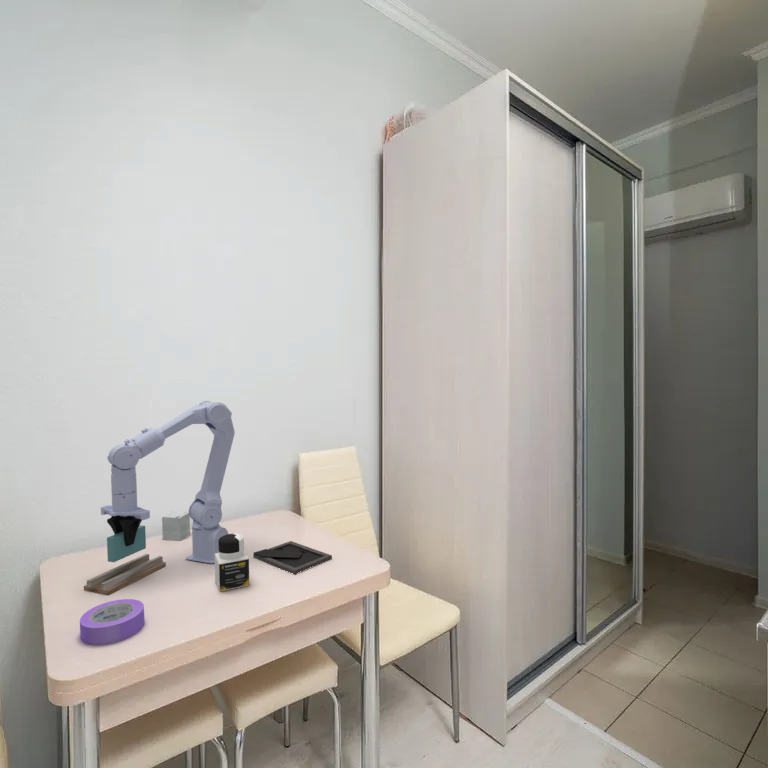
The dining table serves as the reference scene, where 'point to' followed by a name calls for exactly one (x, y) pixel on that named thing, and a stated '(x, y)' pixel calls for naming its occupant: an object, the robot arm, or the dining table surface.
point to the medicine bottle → (231, 563)
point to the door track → (124, 574)
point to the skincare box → (176, 526)
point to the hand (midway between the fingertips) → (126, 544)
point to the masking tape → (112, 622)
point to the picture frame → (291, 557)
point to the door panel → (120, 550)
